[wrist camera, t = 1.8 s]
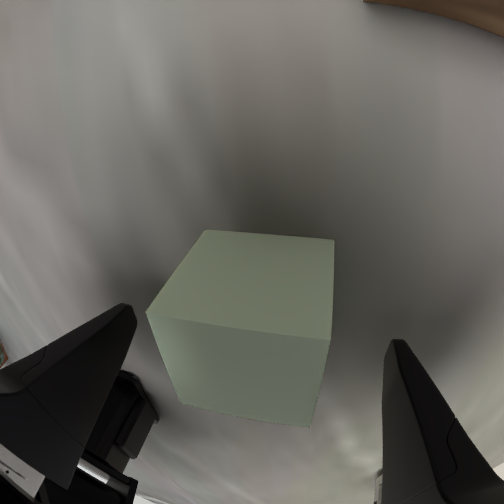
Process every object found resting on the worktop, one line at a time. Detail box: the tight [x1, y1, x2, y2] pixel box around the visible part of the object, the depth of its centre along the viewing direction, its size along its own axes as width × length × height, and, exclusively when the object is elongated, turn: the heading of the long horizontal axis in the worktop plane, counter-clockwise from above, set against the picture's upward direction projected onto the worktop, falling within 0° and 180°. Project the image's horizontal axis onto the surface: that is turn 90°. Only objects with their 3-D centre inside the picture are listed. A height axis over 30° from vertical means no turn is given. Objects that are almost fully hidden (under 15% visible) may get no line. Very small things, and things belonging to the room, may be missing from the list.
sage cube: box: [146, 230, 334, 428], centre depth 10 cm, size 4×4×4 cm
